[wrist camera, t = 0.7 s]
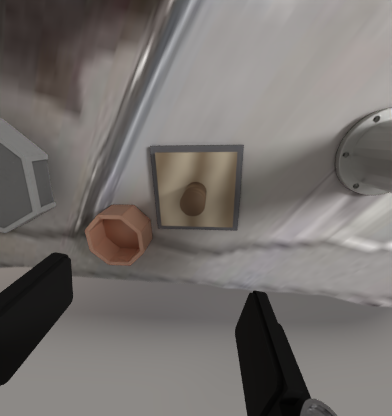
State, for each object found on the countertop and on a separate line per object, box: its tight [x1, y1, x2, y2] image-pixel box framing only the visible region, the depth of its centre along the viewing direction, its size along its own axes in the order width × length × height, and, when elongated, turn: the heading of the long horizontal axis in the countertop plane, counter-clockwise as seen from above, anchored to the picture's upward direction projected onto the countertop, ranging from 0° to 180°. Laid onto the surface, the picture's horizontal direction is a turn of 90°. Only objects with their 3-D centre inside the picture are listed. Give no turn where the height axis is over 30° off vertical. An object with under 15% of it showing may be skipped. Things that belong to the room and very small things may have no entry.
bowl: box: [85, 205, 152, 266], centre depth 35 cm, size 10×10×5 cm
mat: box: [150, 145, 244, 230], centre depth 33 cm, size 15×15×1 cm
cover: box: [155, 152, 237, 228], centre depth 29 cm, size 13×13×7 cm
